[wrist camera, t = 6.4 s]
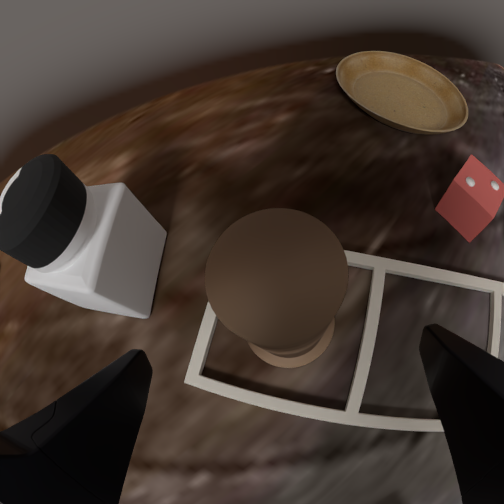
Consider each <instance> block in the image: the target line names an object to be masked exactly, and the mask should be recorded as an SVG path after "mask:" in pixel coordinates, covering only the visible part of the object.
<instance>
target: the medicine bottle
mask: <svg viewBox="0 0 504 504" xmlns="http://www.w3.org/2000/svg"><path fill="white" fill-rule="evenodd" d="M166 236H167V232H166V231H165V229H164V228H163V227H162V226H161V225H160V224H159V223H158V222H157V220H156V219H155V218H154V217H153V216H152V215H151V214H150V213H149V211H148V210H147V209H146V208H145V207H144V206H143V205H142V203H141V202H140V201H139V200H138V199H137V198H136V197H135V195H134V194H133V193H132V192H131V191H130V190H129V188H128V187H127V186H126V185H125V184H124V183H112V184H104V185H96V186H88V187H86V186H85V185H84V184H83V183H82V182H81V181H80V180H79V178H78V177H77V176H76V175H75V174H74V173H73V172H72V171H71V170H70V169H69V168H68V167H67V166H66V165H65V164H64V163H63V162H62V161H61V160H60V159H59V158H58V157H57V156H56V155H53V154H44V155H40V156H37V157H35V158H34V159H32V160H31V161H29V162H28V163H26V164H25V165H24V166H23V167H21V168H20V169H19V170H18V171H17V172H16V173H15V174H14V176H13V177H12V178H11V179H10V181H9V182H8V184H7V185H6V187H5V189H4V190H3V192H2V194H1V196H0V250H1V251H3V252H5V253H6V254H8V255H10V256H12V257H13V258H15V259H17V260H19V261H20V262H22V263H24V264H26V265H28V267H27V270H26V274H25V281H26V282H27V283H29V284H31V285H33V286H35V287H37V288H39V289H41V290H43V291H46V292H48V293H50V294H52V295H55V296H57V297H59V298H61V299H64V300H66V301H69V302H71V303H73V304H76V305H78V306H81V307H83V308H88V309H93V310H98V311H103V312H109V313H114V314H120V315H125V316H131V317H137V318H143V319H146V318H149V316H150V313H151V307H152V302H153V297H154V291H155V286H156V281H157V276H158V271H159V267H160V262H161V258H162V253H163V249H164V244H165V240H166Z"/></svg>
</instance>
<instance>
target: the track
mask: <svg viewBox="0 0 504 504" xmlns="http://www.w3.org/2000/svg"><path fill="white" fill-rule="evenodd" d="M344 252H345V255H346V258H347V263H348V266H354V267H359V268H364V269H370V270H373V271H372V279H371V286H370V293H369V300H368V306H367V312H366V318H365V323H364V329H363V334H362V339H361V344H360V349H359V354H358V358H357V363H356V367H355V372H354V376H353V380H352V384H351V388H350V392H349V395H348V399H347V403H346V406H345V410H338V409H332V408H327V407H321V406H316V405H311V404H306V403H301V402H296V401H292V400H287V399H283V398H279V397H275V396H271V395H267V394H263V393H259V392H255V391H252V390H248V389H244V388H241V387H237V386H234V385H231V384H227V383H224V382H221V381H218V380H215V379H211V378H208V377H205V376H202V371H203V368H204V365H205V361H206V358H207V354H208V351H209V348H210V344H211V341H212V337H213V334H214V331H215V327H216V324H217V320H218V317H217V316H216V314H215V313H214V311H213V310H212V308H211V305H210V303H209V301H208V304H207V307H206V310H205V314H204V317H203V320H202V324H201V327H200V330H199V333H198V337H197V340H196V343H195V347H194V350H193V354H192V357H191V360H190V364H189V367H188V371H187V374H186V378H185V381H184V383H187V384H190V385H192V386H195V387H198V388H201V389H204V390H207V391H210V392H213V393H216V394H219V395H222V396H225V397H228V398H232V399H235V400H238V401H242V402H245V403H249V404H252V405H256V406H260V407H263V408H267V409H271V410H275V411H279V412H284V413H288V414H293V415H297V416H302V417H307V418H312V419H317V420H323V421H328V422H334V423H340V424H347V425H354V426H362V427H370V428H380V429H391V430H405V431H429V432H444V430H443V427H442V424H441V421H440V419H419V418H404V417H392V416H382V415H373V414H365V413H358V412H359V408H360V405H361V401H362V397H363V393H364V389H365V385H366V381H367V377H368V373H369V368H370V364H371V359H372V354H373V349H374V344H375V339H376V334H377V328H378V322H379V316H380V309H381V303H382V295H383V288H384V279H385V273H390V274H396V275H401V276H406V277H411V278H416V279H422V280H427V281H432V282H437V283H442V284H447V285H453V286H458V287H463V288H468V289H473V290H478V291H483V292H488V293H490V322H489V336H488V346H487V352H488V353H490V354H491V355H493V356H495V357H496V358H498V352H499V342H500V328H501V298H502V295H503V296H504V283H503V282H499V281H494V280H490V279H485V278H480V277H476V276H471V275H466V274H462V273H457V272H452V271H448V270H443V269H438V268H433V267H428V266H423V265H418V264H413V263H408V262H403V261H398V260H393V259H388V258H383V257H378V256H373V255H368V254H362V253H357V252H352V251H347V250H344Z"/></svg>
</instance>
